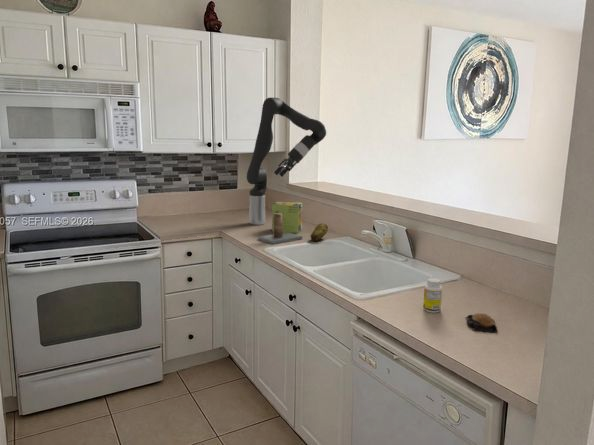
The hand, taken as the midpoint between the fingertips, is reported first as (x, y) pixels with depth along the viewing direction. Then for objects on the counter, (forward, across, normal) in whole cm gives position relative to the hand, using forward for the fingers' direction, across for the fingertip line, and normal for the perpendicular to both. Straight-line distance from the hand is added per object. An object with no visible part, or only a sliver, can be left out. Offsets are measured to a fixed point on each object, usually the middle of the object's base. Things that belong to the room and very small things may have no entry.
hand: (277, 174), depth 254 cm
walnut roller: (+24, +11, +20) cm, 33 cm away
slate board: (+24, +10, +22) cm, 34 cm away
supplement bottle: (+14, +119, +33) cm, 124 cm away
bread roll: (+9, +134, +38) cm, 139 cm away
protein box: (+17, -9, +29) cm, 35 cm away
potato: (+11, +17, +35) cm, 41 cm away
